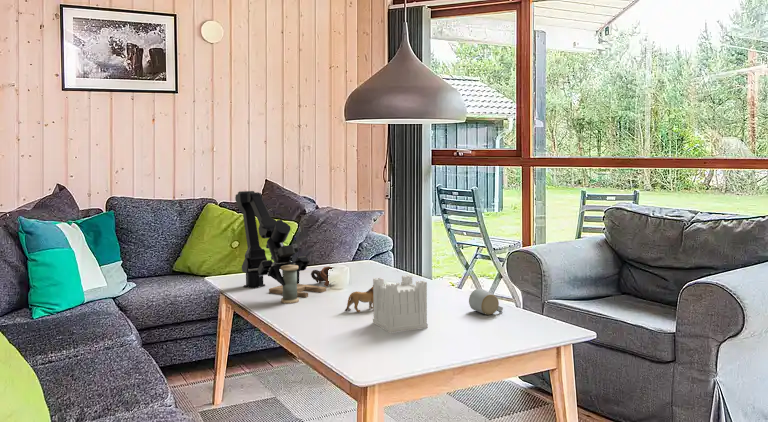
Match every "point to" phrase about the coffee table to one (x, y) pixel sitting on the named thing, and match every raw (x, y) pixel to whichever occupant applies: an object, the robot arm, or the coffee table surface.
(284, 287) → the cord spool
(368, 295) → the lion figurine
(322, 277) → the winged dragon figurine
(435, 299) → the coffee table surface
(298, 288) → the wooden plank structure
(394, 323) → the castle model
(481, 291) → the ceramic mug
